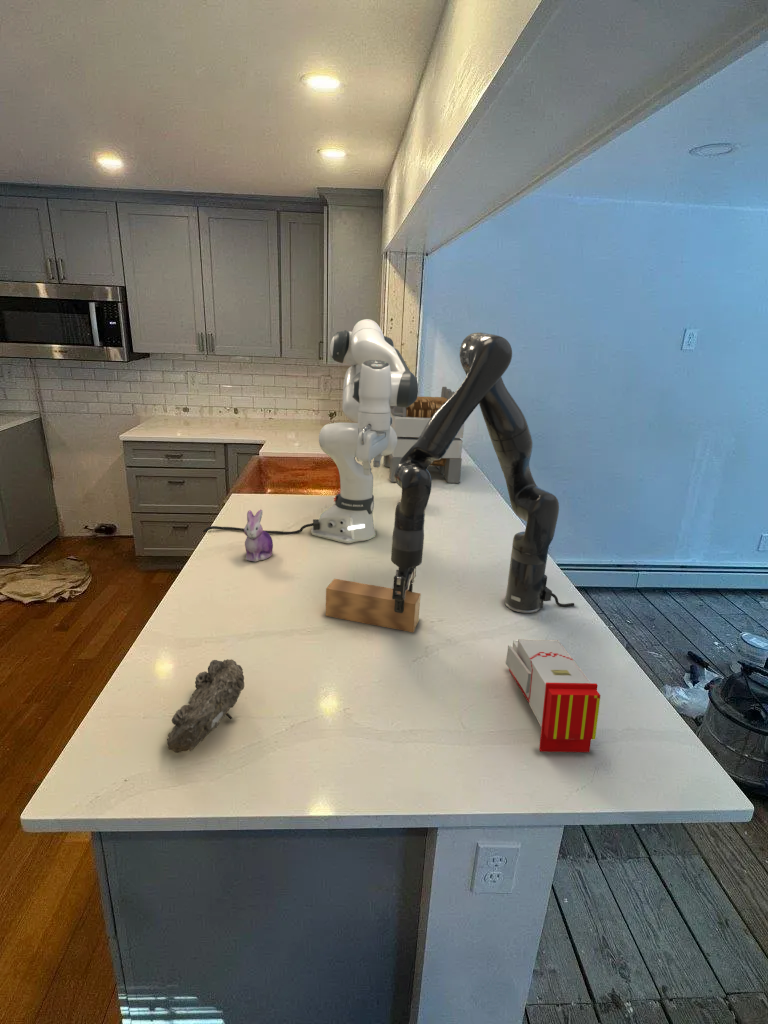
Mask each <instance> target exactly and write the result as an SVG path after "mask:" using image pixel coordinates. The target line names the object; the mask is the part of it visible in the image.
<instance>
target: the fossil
mask: <svg viewBox="0 0 768 1024" xmlns="http://www.w3.org/2000/svg"><path fill="white" fill-rule="evenodd" d="M243 670H244V669H243V667H242V665H240V664H237V662H236V661H235V660H234V659H232V658H231V659H227V658H226V659H224V660H223V661H222V660H217V659H212V660H211V661H210V663H209V665H208V666H207V671H201V672H199V673H198V674H197V675H196V676H195V680H194V684H195V685H194V687H195V689H194V690H193V693H192V694H191V697H190V698H189V700H188V704H184V705H182V706H181V707H180V709H177V710H176V711H175V713H174V715H173V716H172V718H171V723H172V724H173V727H172V730H171V731H170V732H168V734H167V738H166V741H167V742H166V745H167V749H168V750H169V751H173V752H174V753H176V754H178V753H182V752H188V751H189V752H192V751H193V750H195V748H196V747H197V746H199V744H200V743H201V742H203V741H204V740H205V739H206V738H207V737H208V736H209V735H210V734H211V733H212V732H214V730H215V729H217V727H218V726H219V724H220V722H221V721H222V720H223V719H224V718H225V716H226V717H227V719H229V720H233V717H232V715H230V714H229V710H230V709H231V708H234V706H235V704H236V703H237V702H238V699H239V697H240V695H241V693H242V691H243V690H245V689H244V688H245V675H244V671H243Z"/></svg>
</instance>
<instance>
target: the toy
mask: <svg viewBox="0 0 768 1024" xmlns="http://www.w3.org/2000/svg"><path fill="white" fill-rule="evenodd" d="M505 659H506V660H505V665H506V666H507V667H508V671H509V673H510V674H511V676H512V678H513V679H514V681H515V682H516V685H517V686H518V688H519V690H520V691H521V692H522V694H523V697H525V699H526V701H527V703H529V707H530V709H531V711H532V712H533V714H534V716H535V718H536V720H537V722H538V724H539V726H540V728H541V729H540V739H539V748H538V751H539V752H540V753H543V752H544V753H590V752H591V744H592V743H591V742H592V740H596V736H597V727H598V720H599V719H598V718H599V710H600V704H601V703H600V702H601V696H602V695H601V694H600V693H599V692H598V687H599V686H598V683H595V682H594V683H592V682H591V681H590V679H589V678H588V677H587V676H586V674H585V673H584V671H583V670H582V669H581V668H580V666H579V665H578V664H577V663H576V662H575V661H576V660H574V659H573V658H572V656H571V655H570V653H568V651H567V650H566V648H565V647H564V645H563V644H562V643H561V642H560V641H559V639H529V638H528V639H524V638H521V639H517V640H512V645H511V644H510V645H509V644H508V646H507V653H506V658H505Z"/></svg>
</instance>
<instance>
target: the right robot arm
mask: <svg viewBox="0 0 768 1024" xmlns="http://www.w3.org/2000/svg"><path fill="white" fill-rule="evenodd" d="M460 344H461V345H460V348H459V360H460V364H461V366H462V367H461V368H462V369H463V371H464V373H465V375H466V376H465V378H464V379H463V382H461V384H460V386H459V387H458V388H457V389H456V390H455V391H454V392H455V393H454V394H453V395H452V396H451V397H450V398H449V399H448V400H447V401H446V402H445V403H444V404H443V405H442V406H441V407H440V408H439V409H438V410H437V411H436V412H435V413H434V414H433V416H432V417H431V418H430V420H429V422H428V423H427V425H426V426H425V428H424V430H423V431H422V433H421V435H420V437H419V438H418V440H417V442H416V443H415V444H414V445H413V446H412V447H411V448H410V449H409V450H408V451H407V453H406V454H405V455H404V456H403V457H402V459H401V460H400V461H399V463H398V465H397V467H396V469H395V473H394V477H395V481H396V482H395V483H396V484H397V485H398V486H399V488H401V497H400V501H399V502H397V504H396V506H395V511H394V523H393V530H392V531H393V532H392V537H391V538H392V539H391V551H390V552H391V553H390V561H391V563H392V564H393V565H395V566H397V567H398V569H396V571H395V575H394V576H393V585H392V589H393V596H392V599H395V607H394V611H395V612H397V613H403V611H404V601H405V595H406V591H410V592H413V588H414V587H413V586H414V583H415V579H416V577H417V567H419V566H420V565H421V564H422V562H423V553H424V542H425V541H424V540H425V520H426V519H425V517H426V514H425V513H426V509H427V507H428V503H429V499H430V496H431V492H432V476H431V473H430V471H429V470H428V468H429V467H431V466H432V465H431V463H432V462H433V461H434V460H440V459H441V458H442V457H443V456H444V454H445V453H446V450H448V448H449V447H450V445H451V443H452V442H453V440H454V438H455V437H456V435H457V433H458V432H459V430H460V428H461V427H462V425H463V424H464V425H465V423H466V421H467V420H468V418H469V417H470V416H471V415H472V413H473V412H474V411H475V409H476V408H477V407H478V405H479V408H480V411H481V414H482V418H483V420H484V423H485V426H486V428H487V432H488V435H489V438H490V441H491V444H492V447H493V450H494V453H495V454H496V457H497V460H498V463H499V466H500V468H501V472H502V474H503V476H504V480H505V484H506V488H507V493H508V497H509V501H510V502H509V503H510V506H511V509H512V511H513V513H514V514H515V515H516V516H517V517H518V518H519V519H521V520H523V521H525V522H526V525H525V530H524V531H519V532H517V533H515V534H514V536H513V539H512V547H511V554H510V561H509V562H510V564H509V567H508V568H509V570H508V576H507V584H506V592H505V598H504V605H505V606H506V607H507V608H508V609H510V610H511V611H513V612H517V613H521V614H533V613H536V612H538V611H539V610H541V609H543V607H544V602H550V601H552V598H554V602H555V604H556V605H557V606H558V607H559V608H567V607H574V606H575V602H568V603H560V602H559V598H558V596H557V595H556V594H555V593H553V590H551V589H550V588H549V587H547V583H548V576H547V575H546V568H547V560H548V554H549V550H550V545H551V543H552V541H553V540H554V536H555V532H556V528H557V524H558V523H557V522H558V519H559V512H560V503H559V499H558V498H557V496H556V495H554V494H553V493H551V492H549V491H547V490H545V489H543V488H540V487H539V486H538V485H537V483H536V482H535V479H534V477H533V474H532V471H531V467H530V461H531V457H532V452H533V446H534V445H533V444H534V443H533V438H532V437H533V436H532V434H531V431H530V427H529V424H528V422H527V418H526V416H525V415H524V413H523V411H522V409H521V408H520V406H519V404H518V403H517V402H516V400H515V399H514V397H513V396H512V394H511V393H510V392H509V390H508V387H507V386H506V385H505V383H504V379H503V377H502V376H503V375H504V374H505V372H506V371H507V370H508V368H509V367H510V365H511V362H512V358H513V349H512V345H511V343H510V342H509V341H508V339H506V338H505V337H503V336H501V335H497V334H492V333H486V332H472V333H470V334H468V335H467V336H466V337H465V338H464V339H463V340H462V342H461V343H460ZM398 591H400V592H401V594H398Z"/></svg>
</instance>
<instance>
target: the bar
mask: <svg viewBox="0 0 768 1024" xmlns="http://www.w3.org/2000/svg"><path fill="white" fill-rule="evenodd" d="M398 594H401V592H400V591H398ZM421 595H422V593H421V592H415V591H412V592H410V591H406V595H405V601H404V611H403V613H397V612H395V611H394V607H395V599H392V596H393V587H387V586H381V585H380V586H379V585H374V584H368V583H363V582H362V583H361V582H357V581H351V580H346V579H345V580H344V579H340V578H333V579H332V580H331V582H330V583H329V584H328V585H327V587H326V588H325V616H326V617H330V618H336V619H341V620H344V621H345V620H346V621H351V622H355V623H362V624H366V625H371V626H376V627H383V628H387V629H393V630H399V631H404V632H408V633H414V632H415V630H416V628H417V626H418V623H419V621H420V608H421Z"/></svg>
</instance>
